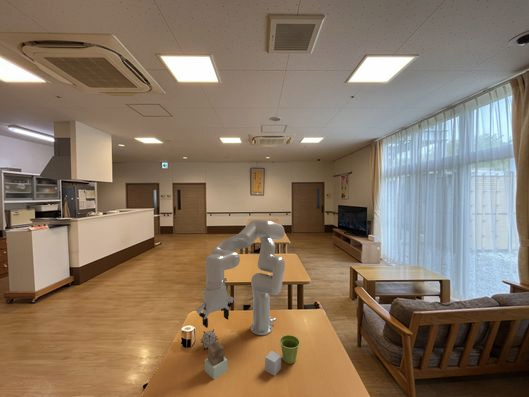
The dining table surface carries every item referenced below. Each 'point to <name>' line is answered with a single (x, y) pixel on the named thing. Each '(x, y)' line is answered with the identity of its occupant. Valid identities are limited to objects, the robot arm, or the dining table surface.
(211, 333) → the grey spiky ball
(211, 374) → the base block
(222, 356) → the walnut block
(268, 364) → the grey block
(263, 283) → the robot arm
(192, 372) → the dining table surface
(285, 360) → the plant pot
